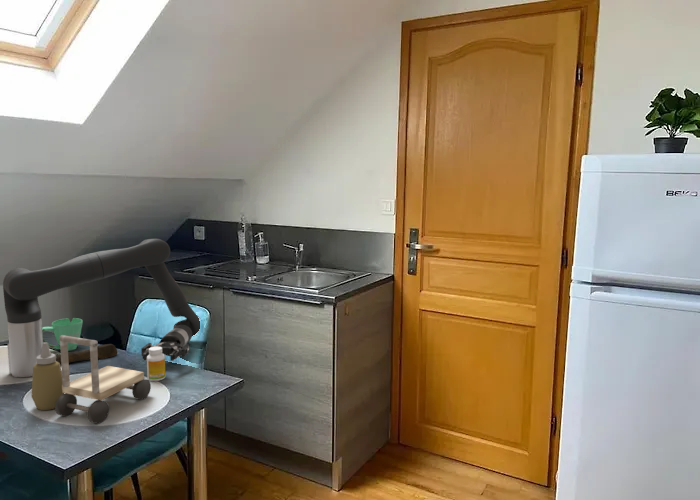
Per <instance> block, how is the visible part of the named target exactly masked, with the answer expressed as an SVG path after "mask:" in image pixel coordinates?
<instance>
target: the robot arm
mask: <svg viewBox="0 0 700 500" xmlns="http://www.w3.org/2000/svg"><path fill="white" fill-rule="evenodd" d="M170 255H171V248H170V245H169V244H168V242H166V241H164V240H162V239H160V238H148V239H147V238H146V239H144V240H143V241H142V240H141V242H140V243H138V244H137V245H133V246H130V247H125V248H115V249H107V250H100V251H94V252H91V253H85V254H82V255H78V256H75V257H74V258H71V259H69V260H66V261H65V262H63V263H61V264H58V265H55V266H53V267H48V268H42V269H37V270H36V269H35V270H30V269H27V268H25V267H18V268H17V267H16V268H13V269H10V271H8V272H7V273H6V274H5V275H4V278H3V280H2V281H3V282H2V289H3V299H4V300H3V301H4V311H5V313H6V319H7V320H6V321H7V331H8V333H7V334H8V343H7V357H8V373H9V374H10V375H11V376H12V377H14V378H28V377H32V376H33V366H34V365H35V364H37V363H36V357H37V356H39V355H41V350H42V344H43V339H44V338H43V334H44V333H43V332H42V327H43V321H42V309H41V307H40V304H39V299H38V298H39V297H40V296H43V295H47V294H49V293H51V292H54V291H57V290H61V289H64V288H69V287H74V286H78V285H84V284H86V283H87V284H88V283H92V282H96V281H100V280H103V279H106V278H109V277H112V276H116V275H119V274H122V273H124V272H127V271H129V270H133V269H136V268H142V267H144V268H145V269H147V272H148V273H149V274H150V276H151V277H152V279H153V281H154V283H155V284H156V286H157V288H158V290H159V292H160V294H161V296H162V298H163V300H164V303H165V304H166V306H167V309H168V310H169V313H170V315H171V316H172V317H175V318H178V317H179V318H180V317H183V318H185V319H182V320H179V321H177V322H176V323H174V324H173V328H172V329H171V330H169V331H168V332H167V333H166V334H165V335H164V336H163V337H162V338H161V339H160V341H159V343H156V344H155V345H152V343H151V342H148V343H147V344H145V345H144V346H143V347H141V357H142V359H143V361H147V356H148V355H149V348H151V347H156V346H158V347H162V354H164V355H165V356H166V357H170V362H173V361H174V360H176V359H178V358H180V357H182V358H185V357H187V355H188V354H189V353H190V344H188V343H189V342H191V341H190V340H191V339H192V338H193V337H194V336H193V335H195V334H196V333H197V332H198V331H199V329H200V321H199V318H200V317H199V316H198V314H197V313H196V312H195V311H194V310H193V308H192V307H191V306H190V305H189V302H188V301H187V298H186V296H185V294H184V292H183V290H182V288H181V287H180V286H179V284H178V282H177V281H176V280H175V279H174V277H173V276H172V274H171V273H170V272H169V270H168V268H167V265H166V263H165V262H166V261H167V260H168V258H170ZM196 314H197V315H196ZM198 317H199V318H198ZM192 336H193V337H192Z"/></svg>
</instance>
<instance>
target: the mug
mask: <svg viewBox="0 0 700 500" xmlns="http://www.w3.org/2000/svg"><path fill="white" fill-rule="evenodd" d="M83 324H84V323H83V319H81V318H76V317H73V318H71V320H70V318H69V317H68V318H67V317H66V318H60V319H57V320H54V321H52V322H51V326H42V333H43V332H46V331H51V332H53V334H54V337H55V340H56V343H57V344H58V345H56V344H51V343H49V342H47V341H46V340H45V339H44V338H43V343H45V342H47V343H48V346H49V349H57V350H61V349H60V340H59V337H60V336H61V335H64V336H71V337H77V338H81V333H82V328H83ZM67 343H68V342H67ZM78 345H79V344H74V343H68V352H69V351H70V352H72V351H74V350H76V349H77V347H78Z"/></svg>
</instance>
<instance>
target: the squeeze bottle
mask: <svg viewBox="0 0 700 500" xmlns="http://www.w3.org/2000/svg"><path fill="white" fill-rule="evenodd" d="M48 343H49V342H48ZM48 343H47V341H46V342H45V343H43V344H42V350H41V355H39V356H37V357H36V363H37V364H35V365H34V366H33V376H31V377H32V378H31V379H32V380H31V381H32V382H31V399H32V401H33V403H34V405H35V407H36V409H37V410H39V411H49V410H53V409H54V410H55V404H56V401H57V399H58V398H59V397H60V396H61V395H62V394H65V393H63V391H62V385H63V381H62V366H61V364H60V363H59V362H57V361H56V353H55V354H54V353H52V352H51V350H50V349H51V348H50V347H49V346H48Z"/></svg>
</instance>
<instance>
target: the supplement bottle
mask: <svg viewBox="0 0 700 500" xmlns="http://www.w3.org/2000/svg"><path fill="white" fill-rule="evenodd" d="M166 376H167V374H166V355H164V354H162V347H158V346H156V347H151V348H149V355H148V356H147V360H146V377H147V380H149V382H159V381H161V380H164V379H165V378H166Z"/></svg>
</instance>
